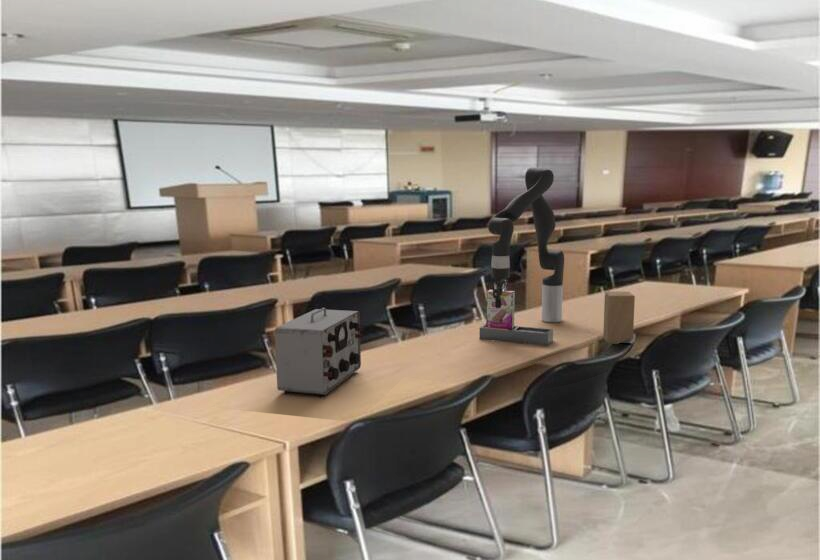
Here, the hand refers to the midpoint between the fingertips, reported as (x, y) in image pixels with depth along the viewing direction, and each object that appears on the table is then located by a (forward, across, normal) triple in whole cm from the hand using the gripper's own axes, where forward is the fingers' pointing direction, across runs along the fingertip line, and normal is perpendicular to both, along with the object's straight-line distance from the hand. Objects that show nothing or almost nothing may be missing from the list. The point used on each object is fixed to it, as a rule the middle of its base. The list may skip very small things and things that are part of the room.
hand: (500, 306), depth 278 cm
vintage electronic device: (+14, +80, -36) cm, 89 cm away
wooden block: (+14, -14, +46) cm, 50 cm away
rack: (+14, 0, +7) cm, 16 cm away
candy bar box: (+10, 0, 0) cm, 10 cm away
